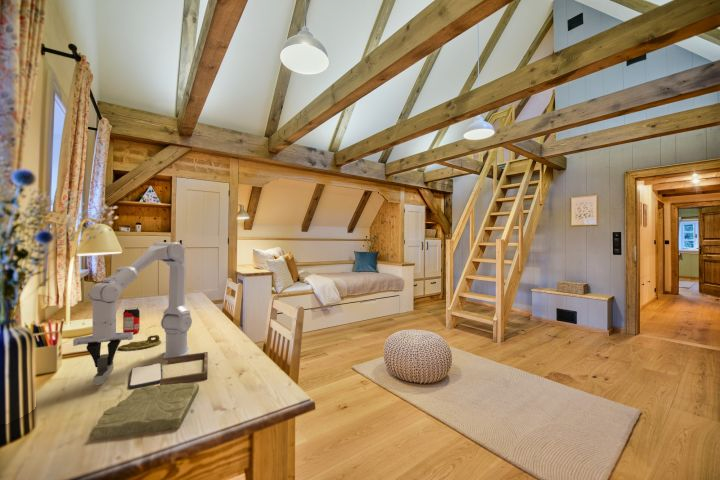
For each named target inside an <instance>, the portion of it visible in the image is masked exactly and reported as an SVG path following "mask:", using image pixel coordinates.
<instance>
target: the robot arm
mask: <svg viewBox="0 0 720 480" xmlns="http://www.w3.org/2000/svg"><path fill="white" fill-rule="evenodd" d="M185 249H186V248H185V247H184V246H183V245H182V244H181V243H180V242H178V241H173V242H171V241H170V242H168V241H167V242H164V241H163V242H161V241H156V242H154V243H153V244H152V245H150V246H148V247H147V250H146V251H145V252H144V253H143V254H141V255H140V256H139V257H138V258H136V260H135V261H133V263H130V265H129V266H121V267H117V268H115V269H116V271H115V272H113V273H112V274H111V275H110V276H108V277H105V278H104V279H103V281H102V282H99V283H96V284H93V286H92V287H91V288H90V289H89V292H87V297H88V298H89V299H90V301H91V306H92V335H87V336H80V337H79V336H78V337H74V339H72V346H73V347H74V346H75V347H76V346H81V345H86V346H85V347H86V350H87V352H88V353H89V354H90V356H91V359H92V360H93V362H94V367H95V368H97V359H98V358H99V357H100V356H101V346H102V343H107V345H106V346H107V354H108V366H110V365H112V363H113V364H114V358H115V354H116V352H117V350H118V347H119V346H120V343H121V342H122V341H131V340H133V339H134V334H133V332H129V333H123V332H117V300H119V298H120V297H121V296H122V292H123V291H124V290H125V289H126V288H127V287H128V286H129V285H132V283H133V282H134V281H136V280H137V278H138V274H139V273H140V272H141V271H143V270H144V269H146V268H147V267H148V266H149V265H151V264H153V263H154V262H155V261H159V260H160V261H162V262H164V263H165V265H168V266H169V280H168V281H169V282H168V283H169V284H168V285H169V287H168V306H167V307H166V309H164V310H163V315H162V318H161V321H160V326H161V328H162V329H164V333H165V353H164V355H163V357H162V358H163V359H165V360H166V359H168V357H173V356H181V355H188V354H189V351H190V347H189V346H188V331H189V329H190V328H191V327H192V324H193V319H192V316H191V311H190V309H188V307H186V305H185V304H186V276H187V272H186V271H187V260H186V259H187V258H186V257H185V255H186V254H185V251H186V250H185Z"/></svg>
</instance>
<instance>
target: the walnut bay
mask: <svg viewBox="0 0 720 480" xmlns="http://www.w3.org/2000/svg"><path fill="white" fill-rule="evenodd" d="M208 354H209V352H208V351H204V352H197V353H191V354H190V353H188V355H181V356H173V357H168V358H167V364H168V365H169V364H175V363H182V362H190V361H196V360H202V359H203V360H204V365H203V367H204V368H203V371H202V372H196V373H189V374H183V375H182V374H181V375H177V376H172V377H171V376H170V377H162V378H163V379H160V383H159V385H168V384H178V383H193V382H196V381H197V382H198V381H203V380H208V369H209V368H208V364H209V361H208V360H209V359H208V358H209V357H208V356H209V355H208Z"/></svg>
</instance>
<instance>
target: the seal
mask: <svg viewBox="0 0 720 480" xmlns="http://www.w3.org/2000/svg"><path fill="white" fill-rule="evenodd" d="M153 338H154V339H153ZM161 344H162V340H160V335H158V334H154V335H150V336H148V337H147V339H146V340H141V341H131V342H129V343H127V344H122V345H119V346H118V348H117V350H118V351H122V352H132V351H141V350H146V349H152V348H154V347H157V346H159V345H161Z"/></svg>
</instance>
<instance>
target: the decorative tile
mask: <svg viewBox="0 0 720 480" xmlns="http://www.w3.org/2000/svg"><path fill="white" fill-rule="evenodd" d="M199 390H200V384H199V383H197V382H186V383H178V384H168V385H160V384H157V385H149V386H145V387H140V388H135V389H133V390H132V392H131V393H130V394H129V395H128V396H127V397H126V398H125V399H123V400H121V401H119V402H118V403H117V404H116V405H115V406H111V407H109V408H108V409H106V410H104V411H103V414H102V415H101V416H100V418H98V420H97V423H96V425H95V426H93V428H92V433H91V439H90V441H95V440H96V441H97V440H102V439H113V438H119V437H120V438H121V437H128V436H134V435H142V434H150V433H157V432H164V431H165V432H166V431H173V430H178V429H180V428H181V426H182V424H183V423H184V420H185V418H186V416H187V415H188V413H189V411H190V409H191V406H192V405H193V402H194V401H195V399H196V396H197V394H198V393H199Z"/></svg>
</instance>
